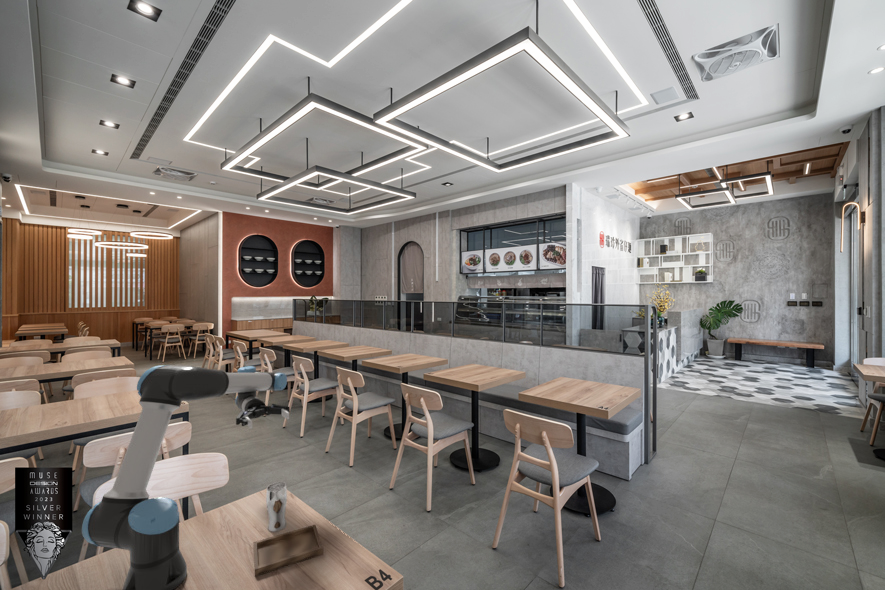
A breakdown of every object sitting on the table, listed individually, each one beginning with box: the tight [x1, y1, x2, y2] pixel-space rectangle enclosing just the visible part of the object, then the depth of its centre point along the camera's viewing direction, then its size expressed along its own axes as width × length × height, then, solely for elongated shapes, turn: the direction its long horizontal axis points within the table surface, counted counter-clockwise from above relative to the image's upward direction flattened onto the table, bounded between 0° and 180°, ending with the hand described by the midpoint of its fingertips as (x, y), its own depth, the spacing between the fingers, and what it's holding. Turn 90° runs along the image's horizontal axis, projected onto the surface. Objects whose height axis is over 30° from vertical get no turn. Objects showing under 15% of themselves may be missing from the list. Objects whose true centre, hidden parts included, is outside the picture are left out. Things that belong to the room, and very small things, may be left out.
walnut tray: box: [252, 524, 324, 577], centre depth 127 cm, size 20×14×2 cm
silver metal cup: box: [265, 481, 288, 533], centre depth 140 cm, size 7×7×15 cm
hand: (270, 420), depth 148 cm, fingers open, 13 cm apart
